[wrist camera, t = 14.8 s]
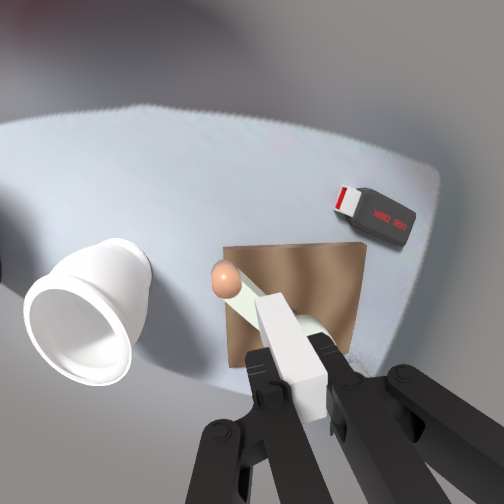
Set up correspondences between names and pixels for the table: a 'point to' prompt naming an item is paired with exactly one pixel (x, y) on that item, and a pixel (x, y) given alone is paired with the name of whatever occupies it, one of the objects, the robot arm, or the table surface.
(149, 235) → the table surface
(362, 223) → the usb drive
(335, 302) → the base plate
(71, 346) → the jar
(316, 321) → the tan-tipped lever stick
